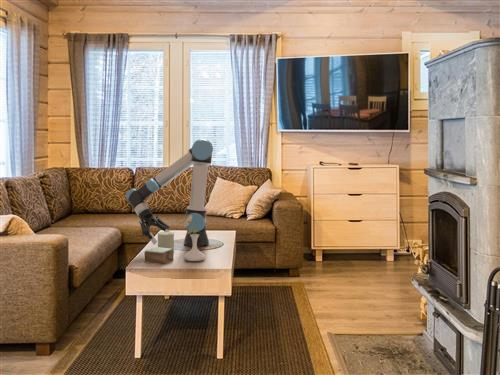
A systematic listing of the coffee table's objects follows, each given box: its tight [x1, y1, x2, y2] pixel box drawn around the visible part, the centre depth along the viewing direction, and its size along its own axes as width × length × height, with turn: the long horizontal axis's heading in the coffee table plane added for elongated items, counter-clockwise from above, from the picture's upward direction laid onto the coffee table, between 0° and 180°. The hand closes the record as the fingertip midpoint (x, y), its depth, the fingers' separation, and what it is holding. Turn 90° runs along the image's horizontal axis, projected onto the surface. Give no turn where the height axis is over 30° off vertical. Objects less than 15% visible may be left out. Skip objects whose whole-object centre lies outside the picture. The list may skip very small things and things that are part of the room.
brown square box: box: [143, 246, 174, 265], centre depth 264 cm, size 11×11×6 cm
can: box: [157, 231, 175, 255], centre depth 282 cm, size 9×9×12 cm
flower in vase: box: [182, 215, 206, 262], centre depth 265 cm, size 13×11×25 cm
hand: (163, 241), depth 282 cm, fingers open, 13 cm apart
